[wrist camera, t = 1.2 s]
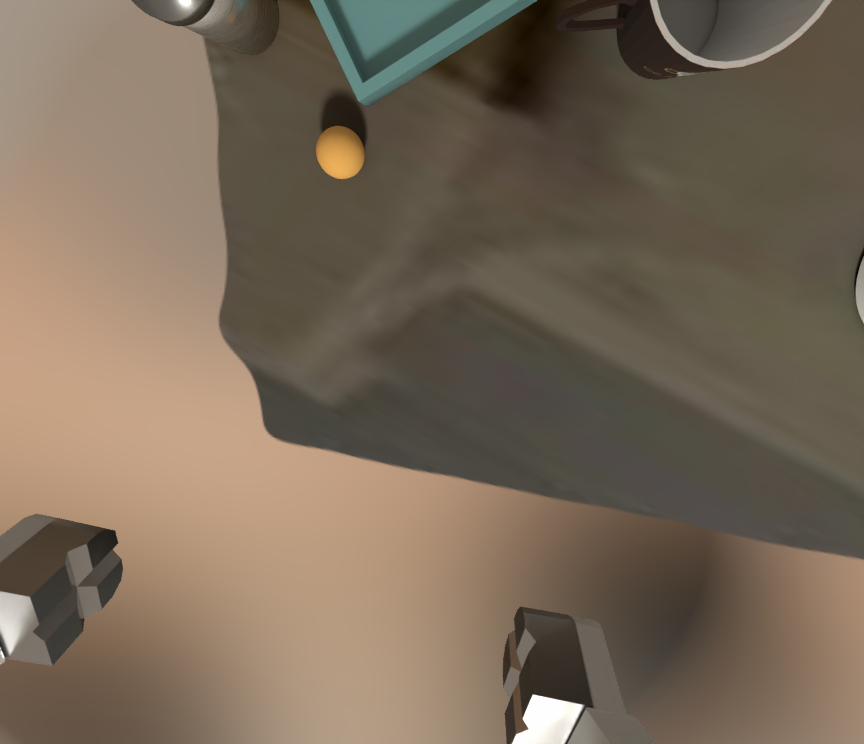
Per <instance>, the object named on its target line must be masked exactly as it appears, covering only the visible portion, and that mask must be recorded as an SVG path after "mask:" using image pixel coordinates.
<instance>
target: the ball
mask: <svg viewBox="0 0 864 744" xmlns="http://www.w3.org/2000/svg"><path fill="white" fill-rule="evenodd" d="M316 154H317V159H318V161H319V164H320V165H321V167H322V168H323V170H324V171H325V172H326V173H328V174H329V175H331V176H332V177H335V178H339V179H347V178H350V177H352V176H354V175H356V174H357V173H358V172H359V170H360V169H361V167H362V165H363V163H364V158H365V152H364V147H363V144H362V142H361V140H360V138H359V137H358V135H357V134H356V133H355V132H353V131H352V130H351V129H349V128H347V127H343V126H333V127H330V128H328V129H326V130H325V131H324V132H323V133H322V134H321V135H320V137H319V139H318V142H317V146H316Z"/></svg>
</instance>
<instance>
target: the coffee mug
mask: <svg viewBox="0 0 864 744" xmlns="http://www.w3.org/2000/svg"><path fill="white" fill-rule="evenodd" d="M831 1H832V0H587V1H585V2H582V3H579V4H577V5H575V6H573V7H570V8H568V9H566V10H565V11H563V12H562V13H561V14H560V15H559V16H558V17H557V18H556V28H557V29H558V30H562V31H588V30H600V29H611V28H617V42H618V47H619V51H620V54H621V56H622V58H623V60H624V62H625V63H626V65H627V66H628V67H629V68H630V69H631V70H632V71H633V72H635V73H636V74H638V75H639V76H642V77H645V78H648V79H656V80H658V79H667V78H673V77H680V76H686V75H692V74H699V73H705V72H712V71H718V70H725V69H731V68H738V67H744V66H747V65H750V64H753V63H756V62H759V61H762V60H764V59H766V58H768V57H770V56H772V55H773V54H775V53H777V52H779V51H781V50H783V49H784V48H785V47H787V46H788V45H789V44H791V43H792V42H793V41H795V40H796V39H797V38H799V37H800V36H801V35H802V34H803V33H804V32H805V31H806V30H807V29H808V28H809V27H810V26H811V25H812V24H813V23H814V22H815V21H816V20H817V19H818V18H819V17H820V16H821V14H822V13H823V12H824V10H825V9H826V8H827V6H828V5H829V4H830V2H831ZM616 4H623V5H622V8H621V10H620V14H619V18H617V19H604V20H591V21H574V20H572V19H573V18H575V17H577V16H580V15H582V14H584V13H587V12H589V11H592V10H595V9H598V8H603V7H608V6H612V5H616Z"/></svg>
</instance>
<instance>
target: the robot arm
mask: <svg viewBox="0 0 864 744" xmlns="http://www.w3.org/2000/svg"><path fill="white" fill-rule="evenodd" d="M856 303H857V308H858V311H859V314H860V317H861V319H862V321H863V323H864V257H863V260H862V262H861V265H860V268H859V272H858V276H857V282H856ZM117 544H118V540H117V536H116V532H115V531H114V530H110V529H106V528H101V527H97V526H92V525H88V524H83V523H78V522H74V521H69V520H65V519H60V518H55V517H50V516H45V515H40V514H34V515H31V516H28V517H26V518H24V519H22V520H21V521H20V522H19V523H17V524H16V525H14V526H13V527H12V528H10V529H9V530H8V531H6V532H5V533H4V534H2V535H1V536H0V664H2V663H3V662H5V658H7V659H13V660H19V661H26V662H31V663H37V664H43V665H50V666H53V665H54V664H55V663H56V662H57V660H58V659H59V658H60V657H61V656H62V655H63V653H64V652H65V651H66V650H67V649H68V648H69V646H70V645H71V644H72V643H73V642H74V641H75V639H77V637H78V636H79V635H80V634H81V633H82V632H83V628H84V619H85V618H86V617H88V616H90V615H92V614H94V613H96V612H98V611H100V610H101V609H102V608H103V607H104V606H105V605H106V604H107V602H108V601H109V600H110V599H111V598H112V596H113V595H114V593H115V591H116V589H117V587H118V585H119V583H120V581H121V577H122V572H123V565H122V560H121V558H120V557H119V556H118V555H117V554H116V553H115V552H114V551H113V548H114V547H115V546H116V545H117ZM514 626H515V630H514V631H513V632H511V633H509V634H508V638H507V641H506V644H505V651H504V657H503V688H504V689H505V691H506V692H507V694H508V696H509V697H510V701H509V703H508V706H507V709H506V711H505V726H506V742H507V744H656V743H655V742H654V740H653V739H652V738H651V737H650V735H649V734H648V733H647V732H646V730H645V729H644V728H643V726H642V725H641V724H640V723H639V722H638V720H637V719H636V718H635V717H634V716H629V715H626V712H625V708H624V705H623V702H622V698H621V694H620V691H619V688H618V684H617V680H616V677H615V674H614V670H613V666H612V663H611V659H610V656H609V652H608V649H607V645H606V642H605V639H604V635H603V631H602V628H601V626H600V624H599V623H598V622H597V621H594V620H589V619H584V618H578V617H573V616H569V615H565V614H560V613H554V612H548V611H543V610H537V609H531V608H525V607H519V609H518V610H517V612H516V614H515V617H514Z"/></svg>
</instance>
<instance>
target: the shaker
mask: <svg viewBox="0 0 864 744" xmlns="http://www.w3.org/2000/svg"><path fill="white" fill-rule="evenodd" d="M132 1H133V2H134V3H135V4H136V5H137V6H138V7H139V8H140V9H141V10H143V11H144V12H145V13H147V14H149V15H150V16H152V17H155V18H157V19H159V20H161V21H163V22H165V23H168V24H171V25H175V26H183V27H185V28H187V29H189V30H192V31H194V32H196V33H198V34H200V35H202V36H204V37H206V38H208V39H210V40H213V41H215V42H217V43H219V44H221V45H223V46H225V47H227V48H229V49H232V50H234V51H236V52H238V53H240V54H244V55H256V54H259V53H261V52H263V51H265V50H266V49H267V48H268V47H269V46H270V45H271V44H272V42H273V41H274V39H275V36H276V34H277V30H278V25H279V10H278V5H277V1H276V0H132Z"/></svg>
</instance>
